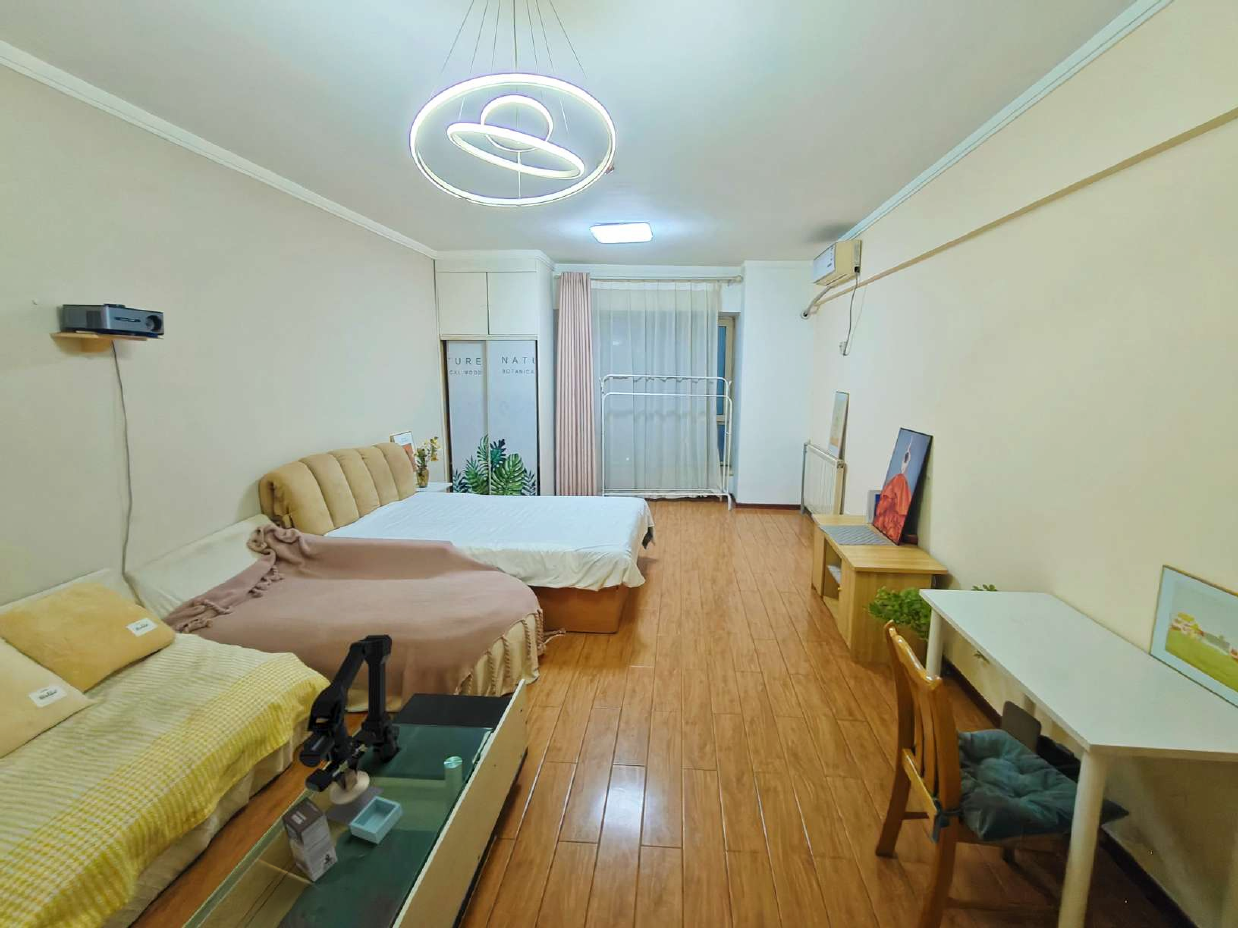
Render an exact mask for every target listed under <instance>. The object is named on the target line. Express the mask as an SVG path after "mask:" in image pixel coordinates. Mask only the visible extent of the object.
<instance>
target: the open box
mask: <svg viewBox="0 0 1238 928" xmlns="http://www.w3.org/2000/svg"><path fill="white" fill-rule="evenodd" d="M402 816H404V811H403V809H402V804H401V803H400V802H396V801H394V800H390V799H387V798H384V797H381V796H375V797H374V798H373V800H372V801H371V802H370V803H369V804H368V805H367V806H366V807H365V808H364V809H363V810H362V811H361V812H360V813H359V814H358V816H357V817H356V818H355V819H354V820H353V821H352V822H351V823H350V824H349V825H350V827H349V828H350V832H351V835H353V836H355V837H358V838H360V839H362V840H365V841H369V842H371V843H374V844H376V845H379V843H380V842H381V841H382V840H383V839H384V838H385V836H386V835H387V834H388V833H389V832H390V831H391V829H392V828H393V827H394V826H395V825H396V823H397V822H398V821H399V820H400V819H401V817H402Z"/></svg>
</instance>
